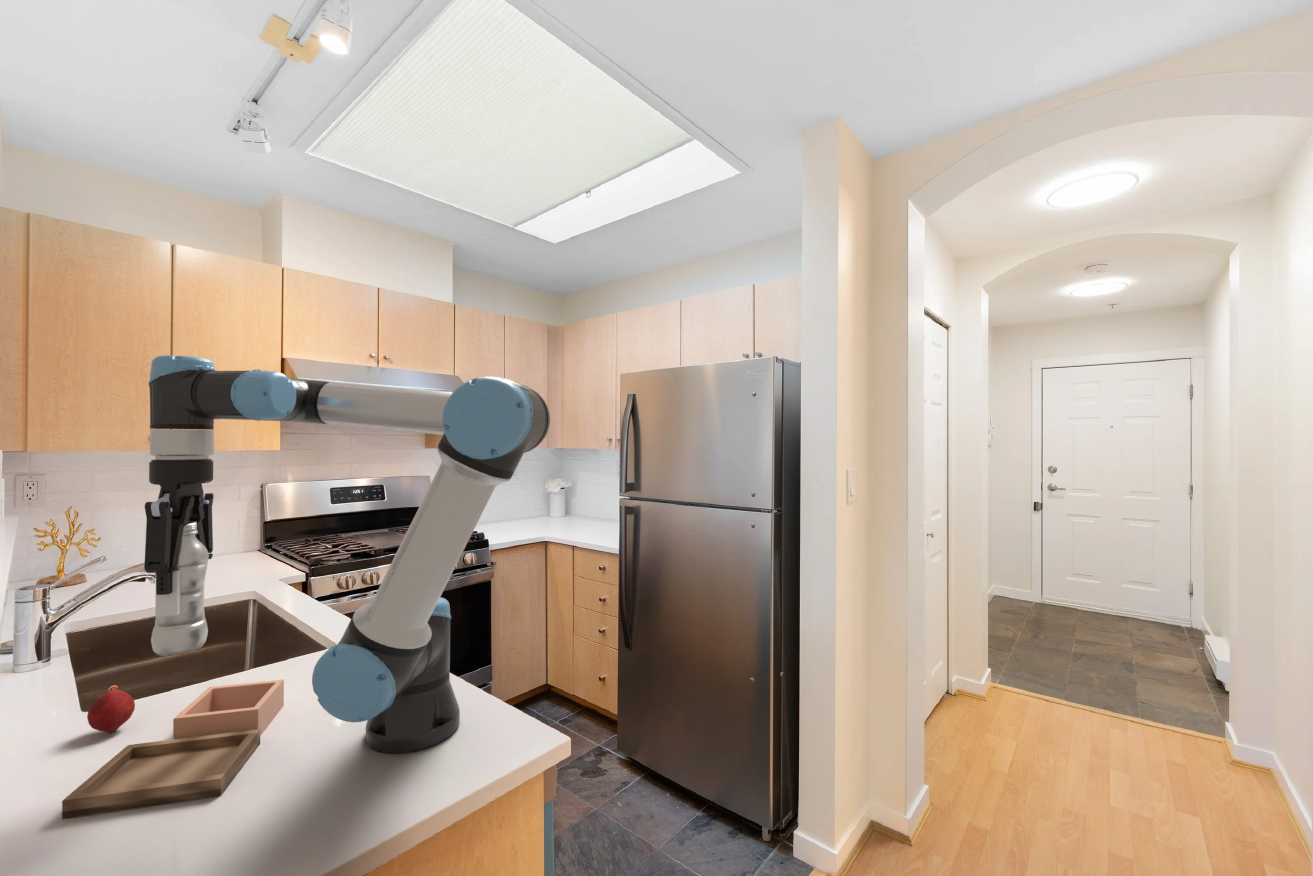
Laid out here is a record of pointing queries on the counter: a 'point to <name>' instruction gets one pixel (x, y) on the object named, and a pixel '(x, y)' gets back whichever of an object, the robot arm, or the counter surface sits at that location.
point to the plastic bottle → (185, 601)
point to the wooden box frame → (230, 709)
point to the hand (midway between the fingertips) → (180, 608)
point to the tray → (163, 773)
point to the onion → (111, 710)
